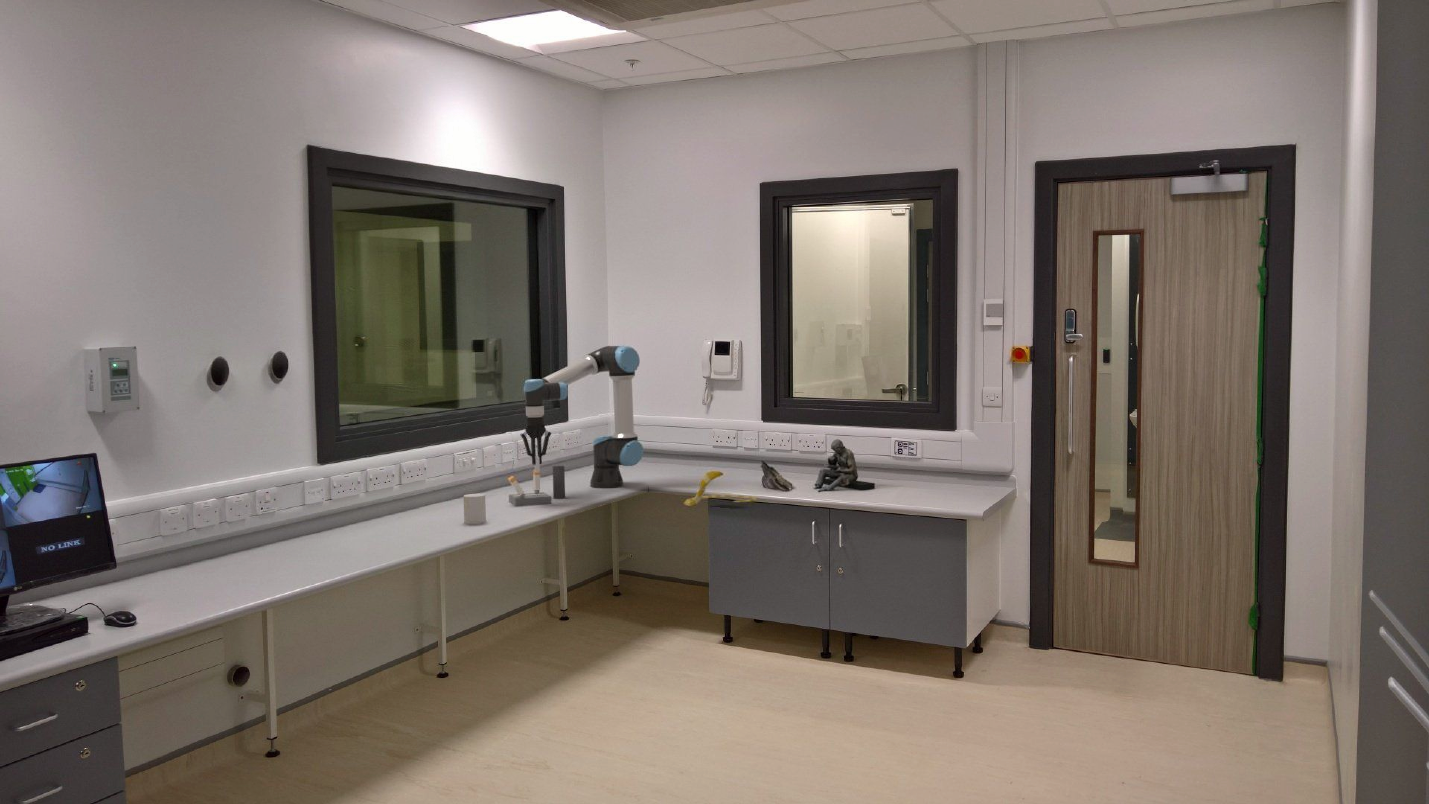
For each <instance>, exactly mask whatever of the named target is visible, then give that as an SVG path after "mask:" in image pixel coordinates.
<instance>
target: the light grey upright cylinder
mask: <svg viewBox="0 0 1429 804" xmlns="http://www.w3.org/2000/svg"><path fill="white" fill-rule="evenodd" d="M486 512H487V511H486V494H485V493H469V494H464V495H463V519H464V524H466V525H479V524H484V523H486V522H487V515H486V514H487V513H486ZM485 521H486V522H485Z"/></svg>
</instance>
